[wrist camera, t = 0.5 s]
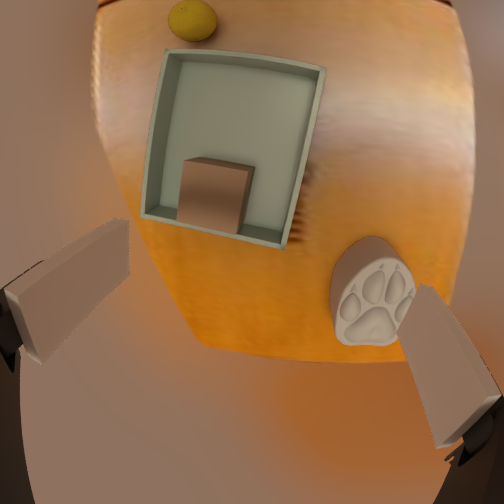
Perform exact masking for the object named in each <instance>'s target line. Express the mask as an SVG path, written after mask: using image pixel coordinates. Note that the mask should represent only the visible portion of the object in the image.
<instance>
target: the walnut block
mask: <svg viewBox="0 0 504 504" xmlns="http://www.w3.org/2000/svg"><path fill="white" fill-rule="evenodd" d="M254 171H255V166H250V165H245V164H240V163H234V162H229V161H224V160H218V159H212V158H206V157H197V158H192V159H188V160H184V163H183V170H182V178H181V185H180V193H179V201H178V210H177V219H176V222H181V223H185V224H190V225H194V226H199V227H203V228H207V229H212V230H216V231H221V232H225V233H229V234H234V235H236V234H237V232H238V231H239V229H240V227H241V225H242V224H243V222H244V220H245V216H246V211H247V206H248V201H249V196H250V191H251V186H252V181H253V176H254Z"/></svg>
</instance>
